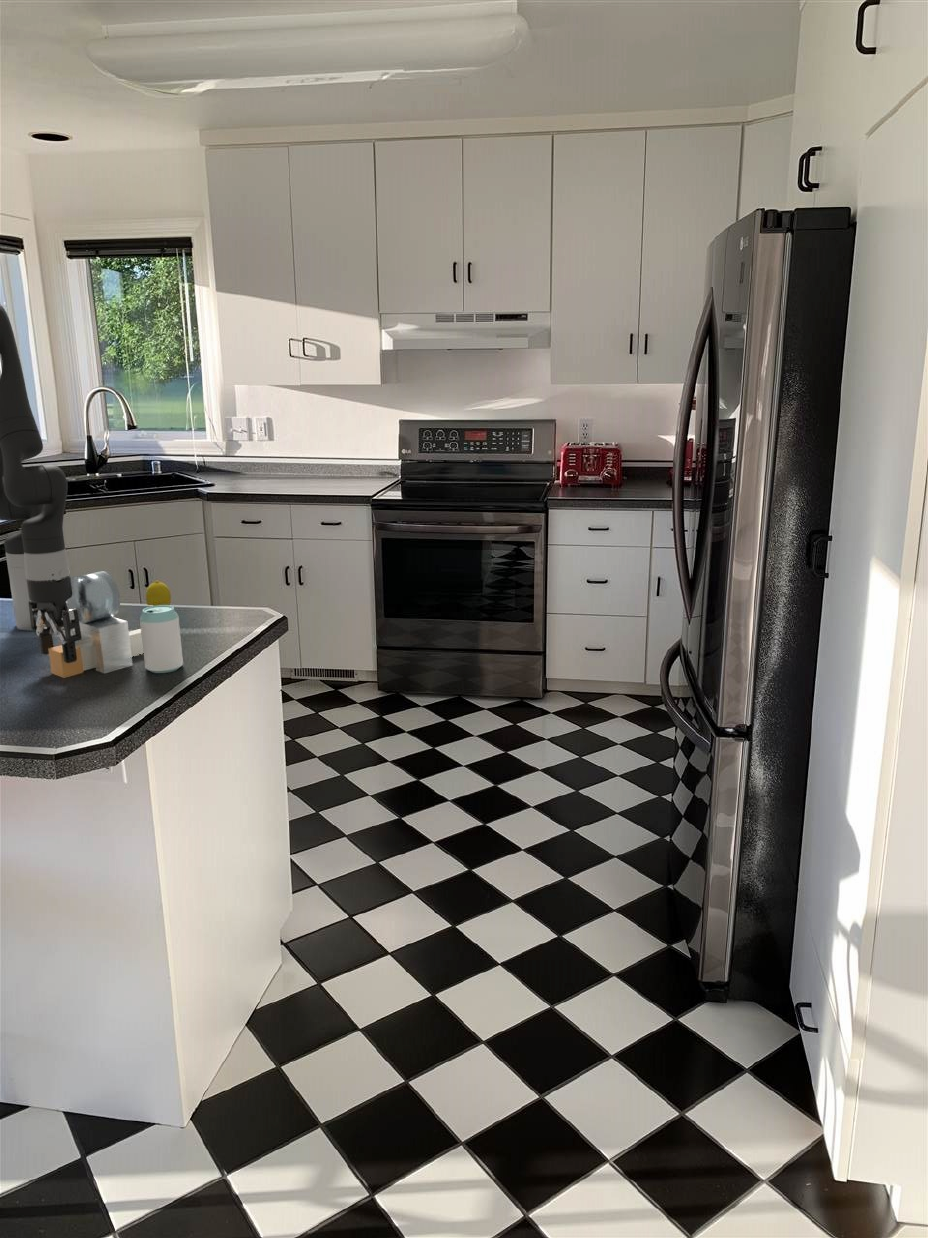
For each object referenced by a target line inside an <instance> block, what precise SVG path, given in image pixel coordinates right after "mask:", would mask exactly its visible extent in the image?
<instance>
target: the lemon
mask: <svg viewBox="0 0 928 1238" xmlns="http://www.w3.org/2000/svg"><path fill="white" fill-rule="evenodd" d="M145 600H146V603H147V606H148V605H153V606H157V605H169V606H171V604H172V603H171V602H172V595H171V591H170V589H169V587H168V586H167V585H166V584H165V583H163V582H161V581H159V580H155V581H154V582H151V584H149V585H148V586H147V588H146V592H145ZM148 607H151V606H148Z"/></svg>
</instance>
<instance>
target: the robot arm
mask: <svg viewBox="0 0 928 1238" xmlns="http://www.w3.org/2000/svg"><path fill="white" fill-rule="evenodd" d="M0 356H1V374H0V520H1V521H21V520H23V522H22V523H21V525H20V532H17V533H15V534H13V535H9V536H7V538H5V540H4V542H3V545H4V550H5V551H4V552H5V558H6V563H7V564H6V565H7V571H8V572H7V573H8V577H9V585H10V592H11V598H12V600H11V601H12V605H13V612H14V618H15V624H16V628H17V629H18V630H21V631H32V632H34V631H36V636H38V638H39V639H38V640H39V644H40V650H41V651H40V652H41V654H42V655H45V656H46V655H49V650H48V648H52V647H55V646H54V640H53V634H52V631H53V633H54V635H58V637H59V639H60V642H61V645H62V649H63V657H64V662H66V663H71V662H75V661H76V660H77V655H76V647H75V641H78V640H81V639H82V637H81V631H80V624H79V618H78V612H77V609H70V608H69V606H68V603H67V600H68V599H69V598H71V597H72V586H71V578H72V577H71V571H70V564H69V559H68V555H67V551H66V545H65V544H66V543H65V539H64V538H65V537H64V529H63V526H64V525H63V524H64V516H65V508H66V502H67V497H68V488H69V485H68V479H67V475H66V474H65V473H64V470H62V469H61V468H60V466H57V465H56V464H41V465H32V466H23V463H22V462H24V461H27V460H30V459H32V458H34V457H35V458H36V457H37V456H38V455H39V454H41V453H42V451H43V450H44V444H43V440H42V437H41V435H40V431H39V429H38V428H39V427H38V425H37V422H36V420H35V417H34V413H33V411H32V408H31V405H30V400H29V398H28V392H27V387H26V382H25V377H24V372H23V367H22V363H21V359H20V353H19V350H18V346H17V342H16V338H15V333H14V331H13V326H12V324H11V321H10V318H9V315H8V313H7V312H6V309H5V308H4V306H3V305H2V304H1V303H0ZM74 628H75V633H74V631H73V629H74Z"/></svg>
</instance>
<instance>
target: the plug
mask: <svg viewBox="0 0 928 1238" xmlns="http://www.w3.org/2000/svg"><path fill="white" fill-rule="evenodd" d="M129 639H130V648H131V656H132V657H133V656H134V657H136V656H140V655H139V654H141V655H144V654H143V644H142V635H141V628H138V629H134V630H131V631H129ZM75 647H76V655H77V660H76V661H75V662H71V663H66V662H64V657H63V649H62V644H61V645H57V646H54V647H52V648H48V650H49V654H48V655H49V656H48V657H49V664H50V671H51V674H53V675H55V676H58V677H61V678H62V679H65V678H70V677H71V676H72V677H73V676H77V675H80V674H83V673H84V671H88V670H91V669H94V668H95V669H96V665H95V657H94V649H93V642H92V641H91V642H88V643H84V644H80V645H76V646H75Z"/></svg>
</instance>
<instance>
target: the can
mask: <svg viewBox="0 0 928 1238" xmlns="http://www.w3.org/2000/svg"><path fill="white" fill-rule="evenodd" d="M139 617H140V618H139V624H140V629H141V635H142V644H143V653H144V654H143V659H144V667H145V669H146V670H147V671H150V672H151V673H154V674H166V673H172V672H175V671H177V670H179V668H180V667H182V666H183V665H184V660H183V657H184V656H183V649H182V639H181V630H180V629H181V628H180V618H179V614H178V613H177V611H176V610H175V607H174V606H173V605H170V606H169V605H157V606H151V607H149V606H147V607H145V608H143V609H142V614H141V616H139Z"/></svg>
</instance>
